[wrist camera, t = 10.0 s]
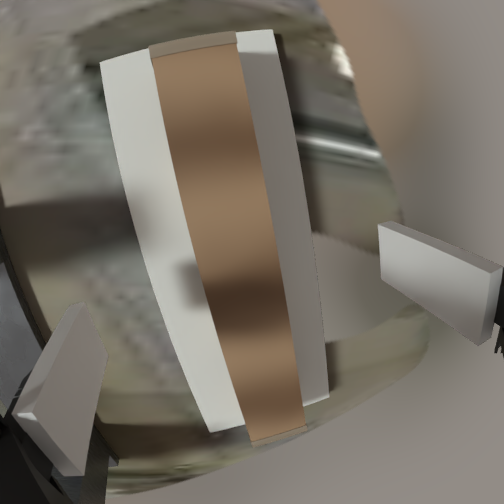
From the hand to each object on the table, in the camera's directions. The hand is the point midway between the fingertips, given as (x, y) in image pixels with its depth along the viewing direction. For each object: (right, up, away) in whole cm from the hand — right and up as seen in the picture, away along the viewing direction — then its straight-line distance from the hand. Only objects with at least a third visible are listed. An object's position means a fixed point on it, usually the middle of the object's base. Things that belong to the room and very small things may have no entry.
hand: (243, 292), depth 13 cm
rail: (-1, +1, +4) cm, 4 cm away
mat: (-1, +1, +5) cm, 5 cm away
